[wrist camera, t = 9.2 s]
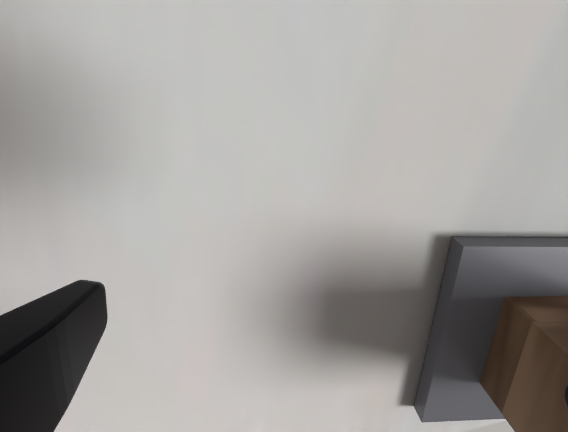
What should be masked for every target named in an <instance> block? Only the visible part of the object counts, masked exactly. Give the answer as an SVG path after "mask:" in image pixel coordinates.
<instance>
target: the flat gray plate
mask: <svg viewBox="0 0 568 432" xmlns="http://www.w3.org/2000/svg"><path fill="white" fill-rule="evenodd" d="M533 296H568V238H552V237H452V240H451V244H450V248H449V253H448V257H447V262H446V266H445V271H444V275H443V280H442V284H441V289H440V293H439V297H438V302H437V306H436V311H435V315H434V320H433V324H432V329H431V333H430V338H429V342H428V346H427V351H426V355H425V360H424V364H423V369H422V373H421V378H420V382H419V386H418V391H417V395H416V400H415V404H414V407H415V410H416V412H417V414H418V416H419V418H420V420H421V422H440V421H463V420H485V419H505V417H504V416H503V414H502V413H501V412H500V410H499V409H498V408H497V406H496V405H495V404H494V402H493V401H492V399H491V398H490V397H489V395H488V394H487V393H486V391H485V390H484V389H483V387H482V386H481V384H480V379H481V376H482V372H483V369H484V366H485V362H486V359H487V355H488V352H489V348H490V345H491V342H492V338H493V335H494V331H495V328H496V324H497V321H498V318H499V314H500V311H501V307H502V304H503V300H504V297H533Z"/></svg>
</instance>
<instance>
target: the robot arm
mask: <svg viewBox="0 0 568 432" xmlns="http://www.w3.org/2000/svg"><path fill="white" fill-rule="evenodd" d="M106 324H107V305H106V293H105V287H104V285H103V284H102V283H100V282H95V281H88V280H78V281H76V282H74V283H71V284H69V285H67V286H65V287H62V288H60V289H58V290H56V291H54V292H51V293H49V294H47V295H45V296H43V297H40V298H38V299H36V300H34V301H31V302H29V303H27V304H25V305H23V306H20V307H18V308H16V309H14V310H12V311H9V312H7V313H5V314H3V315H1V316H0V432H54V430H55V428H56V427H57V425H58V423H59V422H60V420H61V418H62V417H63V415H64V413H65V411H66V410H67V408H68V406H69V404H70V402H71V400H72V398H73V396H74V394H75V392H76V390H77V388H78V386H79V383H80V381H81V379H82V377H83V375H84V373H85V371H86V369H87V367H88V364H89V362H90V360H91V358H92V356H93V354H94V352H95V350H96V347H97V345H98V343H99V341H100V339H101V337H102V335H103V333H104V330H105V328H106ZM564 397H565V402H566V405H567V408H568V384H567V386H566V388H565V392H564Z"/></svg>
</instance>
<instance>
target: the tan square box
mask: <svg viewBox="0 0 568 432" xmlns="http://www.w3.org/2000/svg"><path fill="white" fill-rule="evenodd" d="M480 384H481V386H482V387H483V389H484V390H485V391H486V393H487V394H488V395H489V397H490V398H491V399H492V401H493V402H494V404H495V405H496V406H497V408H498V409H499V410H500V412H501V413H502V414H503V416H504V417H505V419H506V420H507V421H508V423H509V424H510V425H511V427H512V428H513V430H514V431H515V432H568V408H567V405H566V402H565V397H564V392H565V388H566V386H567V384H568V296H533V297H504V300H503V304H502V307H501V311H500V314H499V318H498V321H497V324H496V328H495V331H494V335H493V338H492V342H491V345H490V348H489V352H488V355H487V359H486V362H485V366H484V369H483V372H482V376H481V379H480Z"/></svg>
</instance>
